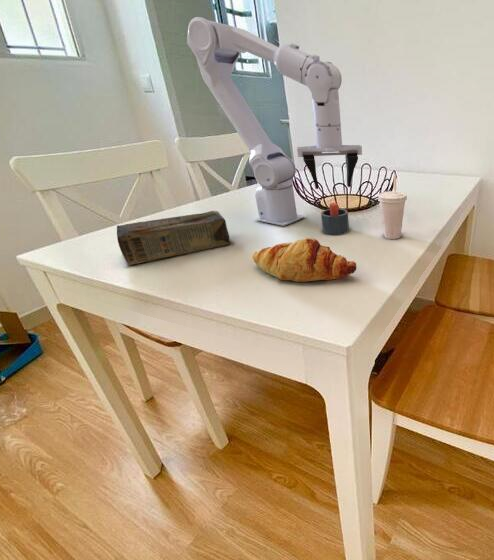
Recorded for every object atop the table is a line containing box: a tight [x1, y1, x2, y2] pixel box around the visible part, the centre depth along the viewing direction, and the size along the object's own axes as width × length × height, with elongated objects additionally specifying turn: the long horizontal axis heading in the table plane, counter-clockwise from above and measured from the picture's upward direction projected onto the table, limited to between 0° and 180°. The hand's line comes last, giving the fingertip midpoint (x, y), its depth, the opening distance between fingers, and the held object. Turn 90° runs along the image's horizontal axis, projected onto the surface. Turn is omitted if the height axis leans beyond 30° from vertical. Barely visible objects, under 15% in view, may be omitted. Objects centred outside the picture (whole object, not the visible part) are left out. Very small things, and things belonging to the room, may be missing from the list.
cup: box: [320, 208, 350, 236], centre depth 82 cm, size 6×6×4 cm
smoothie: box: [377, 173, 408, 240], centre depth 76 cm, size 6×6×14 cm
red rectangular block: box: [329, 202, 339, 216], centre depth 81 cm, size 2×2×6 cm
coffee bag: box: [116, 210, 231, 266], centre depth 71 cm, size 8×19×7 cm, turn 126°
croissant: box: [252, 237, 357, 283], centre depth 62 cm, size 21×10×8 cm, turn 74°
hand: (333, 187), depth 82 cm, fingers open, 7 cm apart
